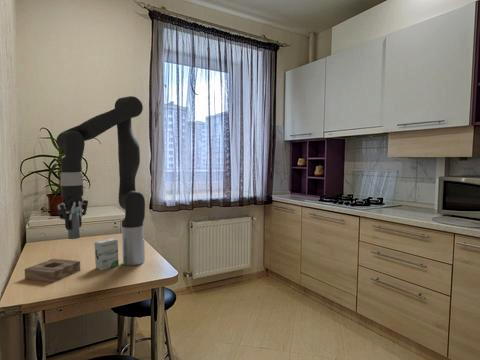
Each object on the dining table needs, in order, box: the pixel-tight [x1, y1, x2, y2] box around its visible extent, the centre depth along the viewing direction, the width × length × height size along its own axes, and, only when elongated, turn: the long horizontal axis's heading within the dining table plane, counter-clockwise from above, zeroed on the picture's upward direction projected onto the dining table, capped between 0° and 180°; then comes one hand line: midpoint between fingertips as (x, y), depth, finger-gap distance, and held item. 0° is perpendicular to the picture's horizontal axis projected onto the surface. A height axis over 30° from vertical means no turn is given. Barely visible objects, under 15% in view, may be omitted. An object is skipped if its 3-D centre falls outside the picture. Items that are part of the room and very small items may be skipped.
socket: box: [24, 258, 81, 283], centre depth 132 cm, size 14×14×4 cm
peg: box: [67, 207, 81, 240], centre depth 122 cm, size 4×4×12 cm
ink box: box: [94, 238, 120, 271], centre depth 141 cm, size 9×5×12 cm, turn 141°
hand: (73, 228), depth 123 cm, fingers closed on peg, 4 cm apart
